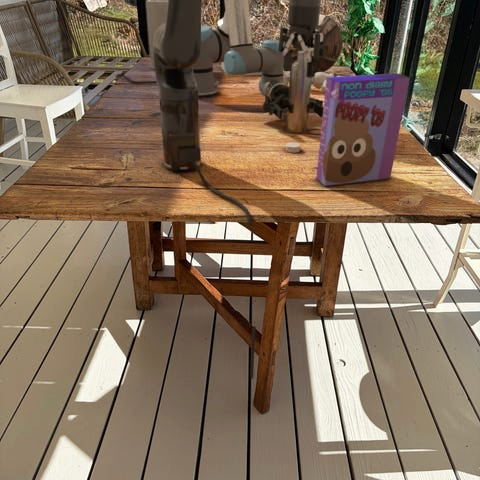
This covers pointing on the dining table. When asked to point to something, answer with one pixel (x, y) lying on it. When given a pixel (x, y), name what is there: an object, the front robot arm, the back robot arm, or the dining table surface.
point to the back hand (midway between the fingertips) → (301, 113)
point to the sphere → (327, 43)
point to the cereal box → (360, 127)
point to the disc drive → (239, 75)
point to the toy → (313, 79)
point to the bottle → (298, 96)
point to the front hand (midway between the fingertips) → (298, 74)
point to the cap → (292, 147)
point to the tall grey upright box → (155, 20)
